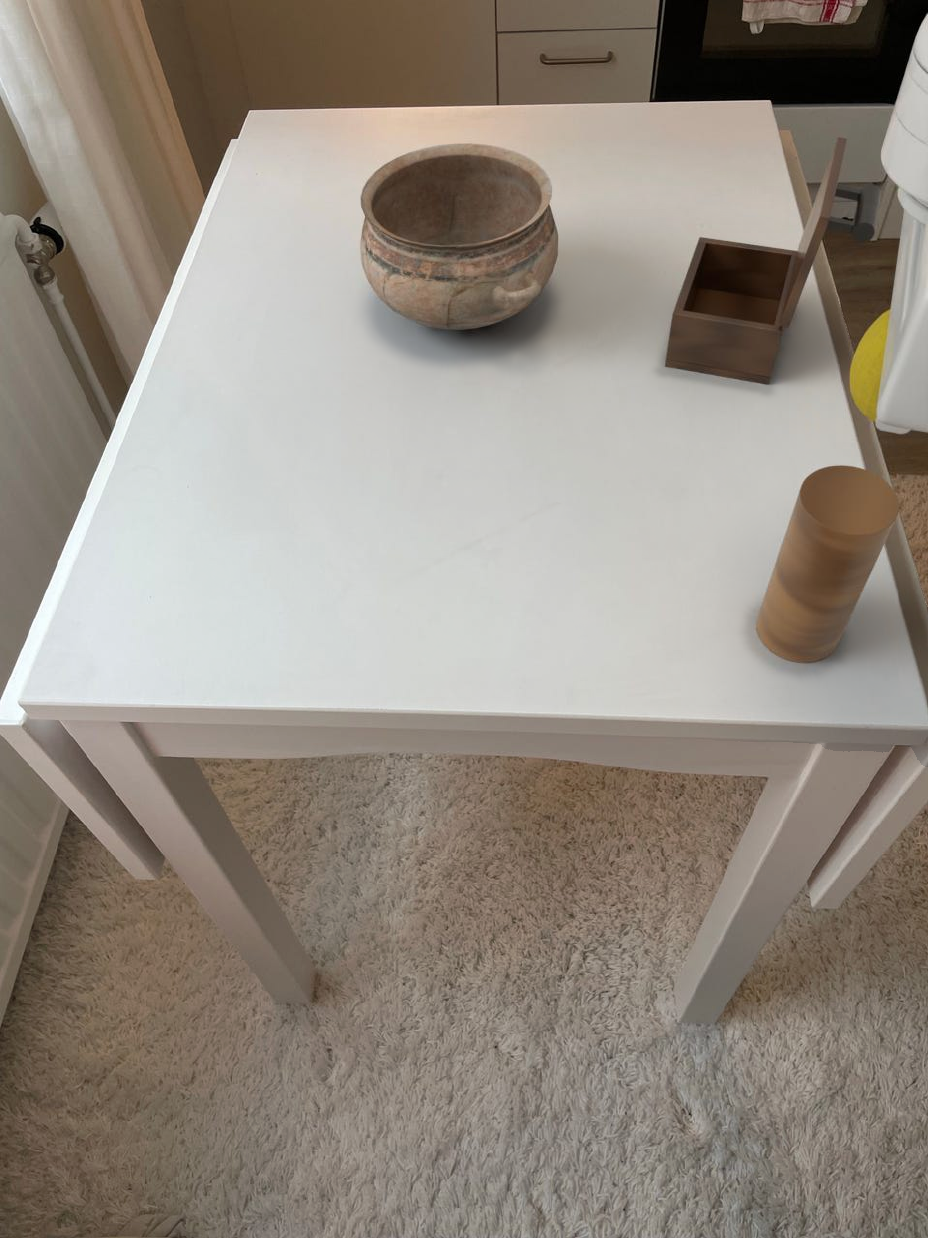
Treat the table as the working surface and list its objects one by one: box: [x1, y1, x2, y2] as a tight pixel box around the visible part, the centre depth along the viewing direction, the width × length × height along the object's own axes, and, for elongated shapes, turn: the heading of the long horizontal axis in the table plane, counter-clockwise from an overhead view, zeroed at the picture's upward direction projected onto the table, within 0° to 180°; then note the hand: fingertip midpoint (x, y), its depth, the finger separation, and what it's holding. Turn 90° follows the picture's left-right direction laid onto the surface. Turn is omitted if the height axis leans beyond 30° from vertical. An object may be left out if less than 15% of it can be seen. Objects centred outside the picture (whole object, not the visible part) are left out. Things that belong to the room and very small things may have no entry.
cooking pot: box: [359, 143, 559, 331], centre depth 92 cm, size 25×19×12 cm
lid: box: [779, 136, 882, 329], centre depth 81 cm, size 10×13×5 cm
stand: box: [755, 464, 900, 664], centre depth 65 cm, size 6×6×14 cm
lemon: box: [849, 308, 891, 423], centre depth 51 cm, size 6×6×8 cm
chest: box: [664, 236, 798, 385], centre depth 90 cm, size 10×13×6 cm
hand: (896, 382), depth 52 cm, fingers closed on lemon, 5 cm apart
